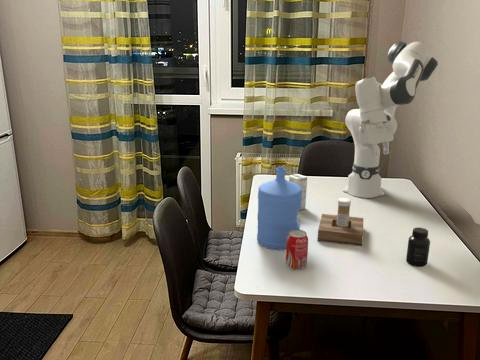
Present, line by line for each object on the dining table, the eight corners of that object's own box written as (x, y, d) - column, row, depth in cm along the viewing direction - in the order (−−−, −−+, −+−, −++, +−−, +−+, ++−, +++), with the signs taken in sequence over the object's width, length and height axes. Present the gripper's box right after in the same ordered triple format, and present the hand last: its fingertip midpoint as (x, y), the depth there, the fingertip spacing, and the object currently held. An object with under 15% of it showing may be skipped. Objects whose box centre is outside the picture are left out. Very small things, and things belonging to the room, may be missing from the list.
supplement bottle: (430, 262, 163) (435, 230, 159) (421, 269, 159) (426, 236, 155) (411, 256, 168) (415, 224, 164) (401, 262, 163) (406, 230, 160)
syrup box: (287, 207, 210) (288, 175, 206) (297, 204, 214) (298, 173, 209) (296, 211, 206) (297, 179, 201) (306, 208, 209) (307, 176, 205)
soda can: (288, 259, 165) (290, 227, 161) (309, 263, 162) (311, 230, 158) (282, 268, 158) (284, 235, 155) (303, 273, 156) (305, 239, 152)
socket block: (321, 224, 193) (322, 213, 192) (362, 228, 189) (363, 217, 188) (317, 241, 178) (318, 229, 177) (361, 246, 175) (363, 234, 173)
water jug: (274, 255, 168) (276, 178, 159) (248, 238, 180) (249, 166, 171) (308, 244, 176) (312, 170, 167) (281, 229, 188) (284, 160, 179)
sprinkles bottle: (339, 229, 186) (341, 196, 182) (350, 232, 184) (353, 199, 179) (333, 232, 183) (336, 199, 179) (344, 236, 180) (347, 202, 176)
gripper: (367, 118, 173) (375, 156, 173) (392, 116, 188) (400, 151, 188) (352, 123, 177) (359, 159, 177) (378, 120, 192) (385, 154, 192)
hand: (380, 155), depth 183 cm, fingers open, 8 cm apart
